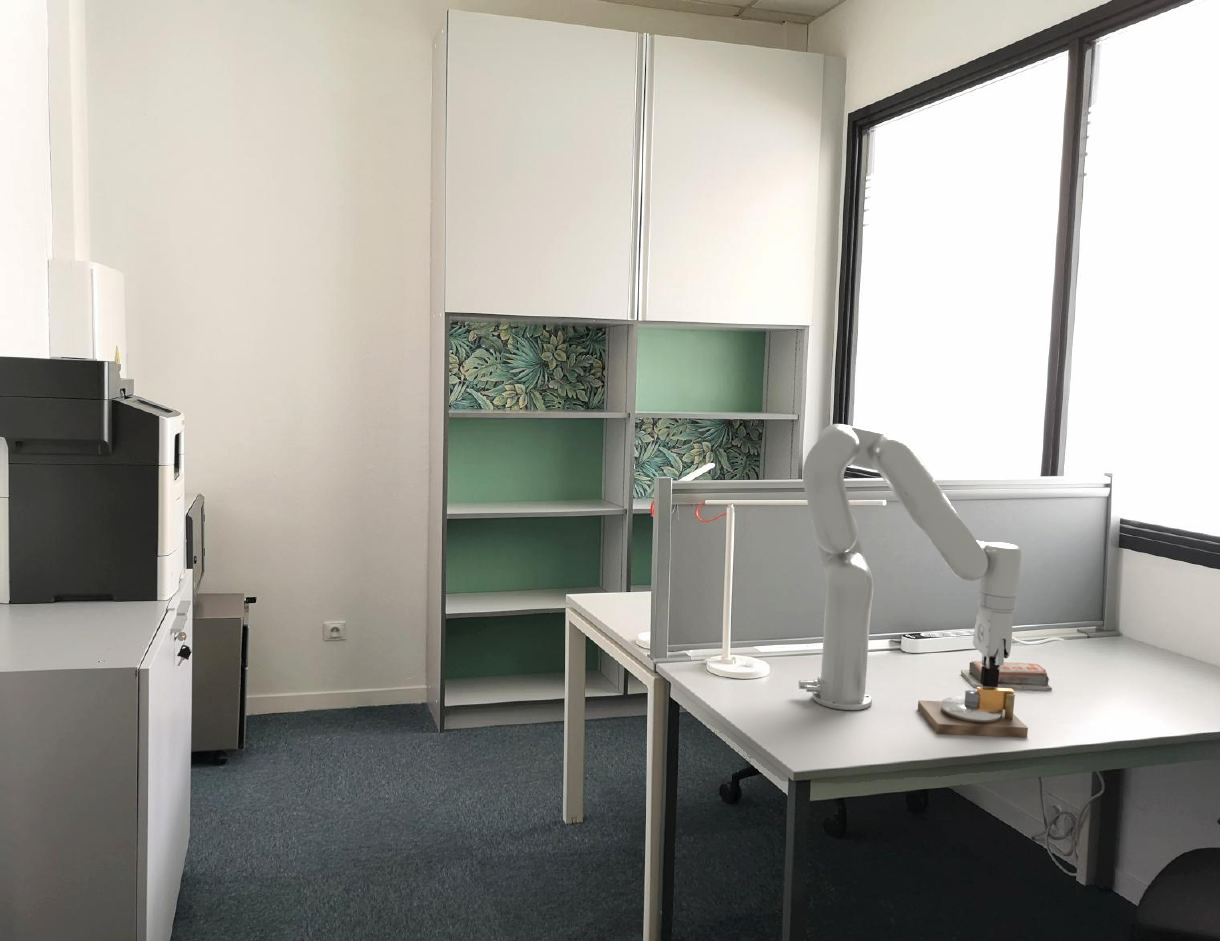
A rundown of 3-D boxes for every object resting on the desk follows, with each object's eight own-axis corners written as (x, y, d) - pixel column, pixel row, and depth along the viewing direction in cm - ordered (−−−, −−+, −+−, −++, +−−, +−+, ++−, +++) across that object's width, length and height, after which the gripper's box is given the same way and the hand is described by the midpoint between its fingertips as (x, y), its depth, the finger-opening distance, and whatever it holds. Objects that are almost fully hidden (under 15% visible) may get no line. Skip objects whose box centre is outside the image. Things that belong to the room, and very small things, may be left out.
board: (937, 733, 209) (939, 699, 208) (917, 709, 222) (920, 677, 222) (1027, 737, 208) (1030, 703, 208) (1001, 712, 222) (1004, 681, 221)
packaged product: (1037, 659, 248) (1053, 672, 238) (1035, 679, 248) (1052, 693, 238) (961, 656, 248) (974, 669, 238) (959, 675, 248) (973, 689, 239)
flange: (949, 720, 210) (951, 695, 209) (934, 700, 221) (936, 677, 221) (1020, 724, 209) (1022, 699, 208) (1001, 704, 221) (1003, 680, 220)
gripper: (967, 592, 226) (960, 673, 229) (991, 609, 212) (983, 696, 214) (1002, 593, 226) (994, 675, 229) (1028, 611, 211) (1019, 698, 214)
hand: (988, 685), depth 221 cm, fingers closed
